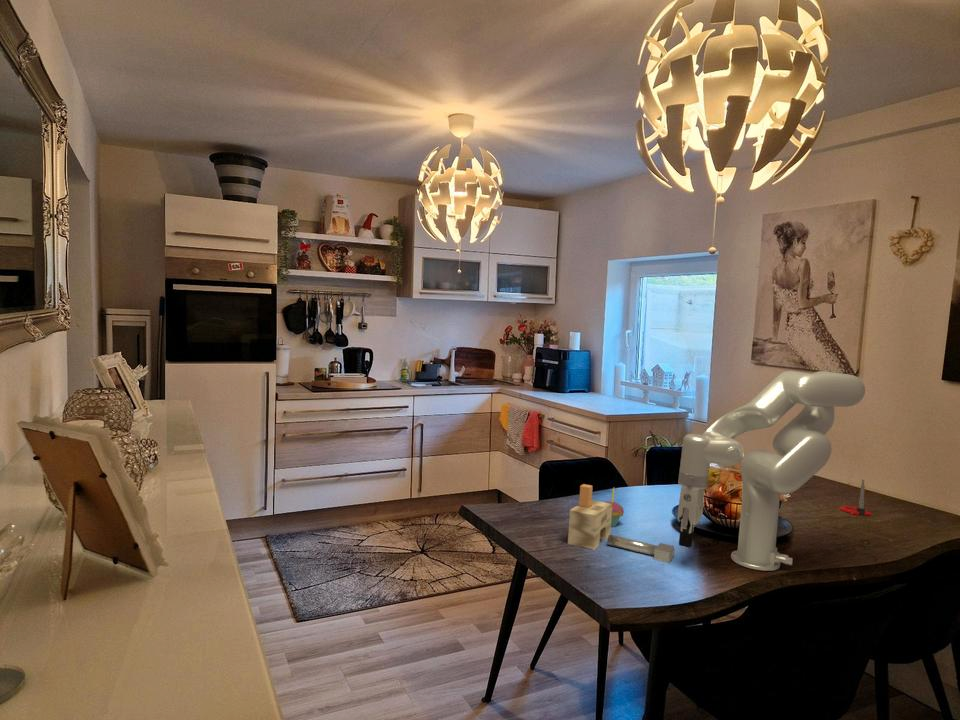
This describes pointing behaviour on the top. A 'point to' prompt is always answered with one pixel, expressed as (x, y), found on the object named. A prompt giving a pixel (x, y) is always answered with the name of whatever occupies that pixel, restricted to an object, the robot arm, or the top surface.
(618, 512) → the cupcake
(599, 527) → the block
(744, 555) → the robot arm
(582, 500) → the plunger
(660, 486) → the top surface
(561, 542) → the top surface
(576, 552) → the top surface
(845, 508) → the grey spike red base
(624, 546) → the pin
